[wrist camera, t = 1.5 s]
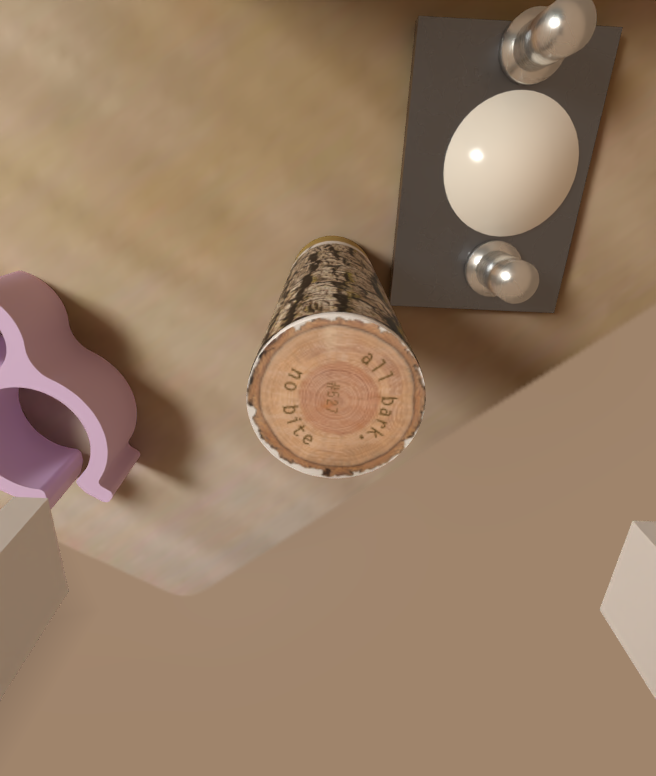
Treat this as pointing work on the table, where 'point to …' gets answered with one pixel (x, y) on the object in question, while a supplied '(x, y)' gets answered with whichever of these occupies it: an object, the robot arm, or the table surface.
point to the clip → (68, 385)
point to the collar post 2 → (545, 39)
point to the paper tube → (335, 368)
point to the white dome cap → (511, 163)
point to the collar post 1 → (500, 272)
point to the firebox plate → (429, 146)
